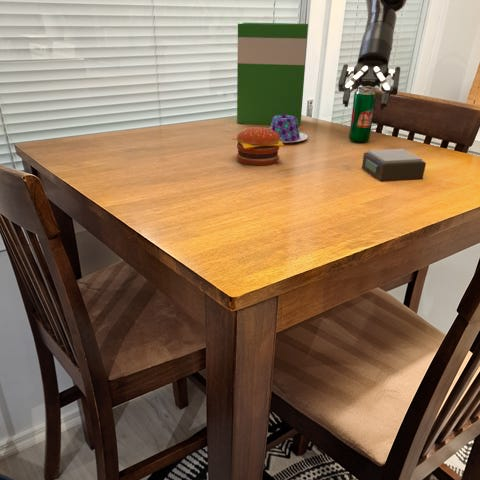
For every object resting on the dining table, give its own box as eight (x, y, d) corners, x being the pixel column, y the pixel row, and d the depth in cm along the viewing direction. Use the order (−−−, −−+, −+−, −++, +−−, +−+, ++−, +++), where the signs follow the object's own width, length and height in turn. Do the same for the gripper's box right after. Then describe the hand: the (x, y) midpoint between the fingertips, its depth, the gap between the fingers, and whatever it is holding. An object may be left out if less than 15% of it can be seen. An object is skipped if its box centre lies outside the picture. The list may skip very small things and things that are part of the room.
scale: (401, 166, 105) (404, 147, 103) (422, 179, 98) (426, 159, 96) (360, 168, 103) (362, 149, 101) (379, 181, 96) (382, 161, 94)
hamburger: (245, 167, 103) (245, 134, 99) (230, 156, 110) (230, 124, 107) (286, 163, 105) (288, 131, 102) (269, 152, 113) (271, 121, 109)
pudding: (270, 131, 131) (271, 110, 128) (313, 136, 126) (315, 114, 123) (251, 141, 121) (252, 118, 119) (298, 147, 117) (299, 124, 114)
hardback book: (300, 120, 143) (308, 23, 130) (300, 125, 137) (307, 24, 124) (240, 117, 145) (241, 22, 132) (237, 123, 139) (237, 23, 126)
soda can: (356, 144, 120) (363, 90, 114) (344, 139, 124) (350, 87, 118) (373, 142, 122) (381, 89, 115) (361, 137, 126) (368, 86, 119)
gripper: (346, 35, 121) (334, 94, 118) (407, 37, 117) (395, 98, 114) (346, 58, 128) (334, 113, 125) (403, 60, 124) (392, 118, 121)
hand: (363, 106), depth 120 cm, fingers open, 8 cm apart
